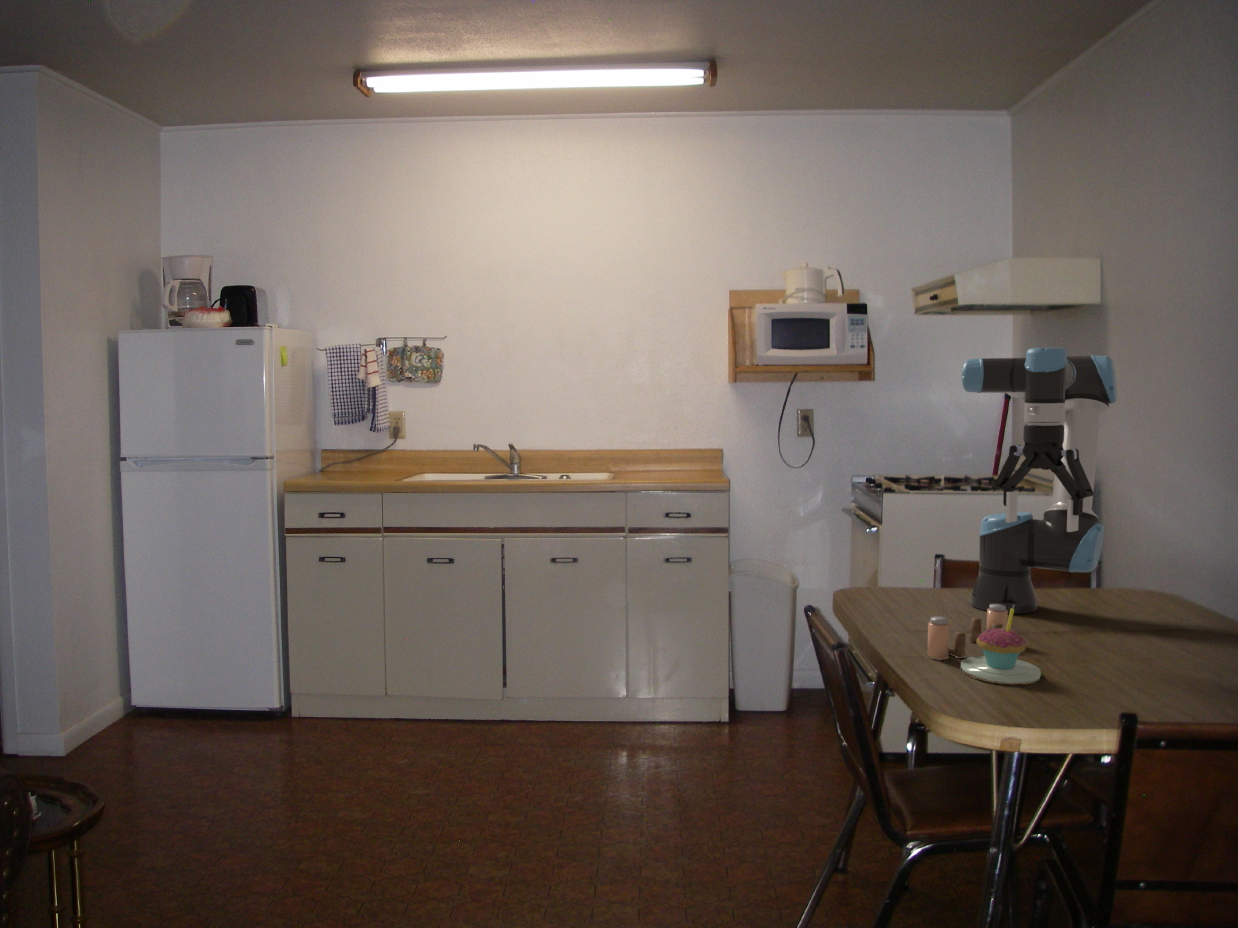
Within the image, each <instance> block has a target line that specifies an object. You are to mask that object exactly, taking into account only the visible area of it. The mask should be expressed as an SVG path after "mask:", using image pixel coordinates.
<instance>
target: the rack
mask: <svg viewBox="0 0 1238 928" xmlns="http://www.w3.org/2000/svg"><path fill="white" fill-rule="evenodd" d="M982 622H983V621H982V618H979V617H972V618H971V622H970V624H971V625H970V637H969V642H970V641H971V642H970V643H972V642H975V643H974V644H977V643H976V642H977V637H978V635H979V634H981V633H982ZM995 628H996V629H999V628H1000V629H1001V628H1003V625H1002V624H1000V623H993V624H992V629H995ZM966 637H967V636H966V632H963V631H955V632H954V649H952V648H949V654H952V655H955V656H958V657H964V656H966V657H967V653H966Z"/></svg>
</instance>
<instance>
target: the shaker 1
mask: <svg viewBox="0 0 1238 928" xmlns="http://www.w3.org/2000/svg"><path fill="white" fill-rule="evenodd" d="M949 644H950V623H949V622H948V618H947V617H944V616H930V620H929V621H928V622H927V653H926V654H927V655H928V656H931V657H936V658H946V657H948V658H949V649H950V646H949Z"/></svg>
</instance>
